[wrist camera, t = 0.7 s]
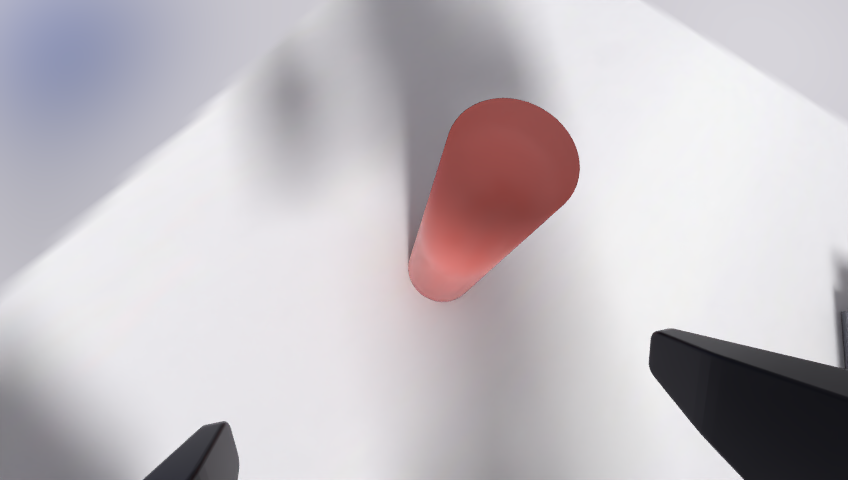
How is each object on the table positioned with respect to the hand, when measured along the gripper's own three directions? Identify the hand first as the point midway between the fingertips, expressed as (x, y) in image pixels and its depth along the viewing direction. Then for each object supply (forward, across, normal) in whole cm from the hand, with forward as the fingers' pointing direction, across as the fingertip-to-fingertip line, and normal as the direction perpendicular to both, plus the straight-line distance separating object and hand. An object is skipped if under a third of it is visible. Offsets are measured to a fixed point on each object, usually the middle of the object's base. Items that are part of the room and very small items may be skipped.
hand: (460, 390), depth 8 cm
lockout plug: (+15, -3, +3) cm, 16 cm away
